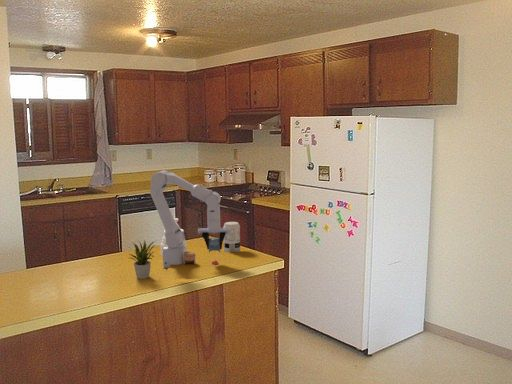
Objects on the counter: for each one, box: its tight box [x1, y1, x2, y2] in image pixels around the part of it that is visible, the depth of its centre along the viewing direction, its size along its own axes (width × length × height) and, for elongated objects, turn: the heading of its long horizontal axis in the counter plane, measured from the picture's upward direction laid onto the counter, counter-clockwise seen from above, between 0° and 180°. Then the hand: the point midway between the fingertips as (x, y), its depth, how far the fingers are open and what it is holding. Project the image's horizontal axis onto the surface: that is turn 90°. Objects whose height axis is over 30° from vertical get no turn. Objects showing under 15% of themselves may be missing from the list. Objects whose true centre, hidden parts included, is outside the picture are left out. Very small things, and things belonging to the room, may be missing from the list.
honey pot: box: [160, 217, 188, 257], centre depth 244 cm, size 13×13×18 cm
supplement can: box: [222, 221, 241, 253], centre depth 245 cm, size 8×8×15 cm
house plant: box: [125, 240, 157, 280], centre depth 209 cm, size 14×14×16 cm
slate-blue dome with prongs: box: [208, 237, 221, 253], centre depth 222 cm, size 5×5×6 cm
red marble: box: [211, 259, 219, 265], centre depth 223 cm, size 3×3×3 cm
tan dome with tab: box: [183, 252, 197, 265], centre depth 223 cm, size 5×5×6 cm
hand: (214, 248), depth 222 cm, fingers closed on slate-blue dome with prongs, 5 cm apart
